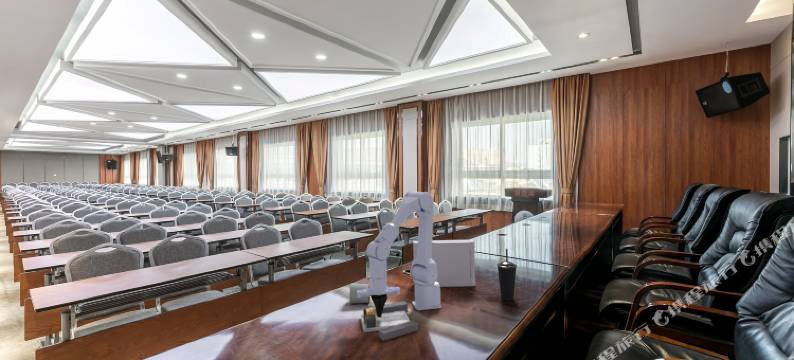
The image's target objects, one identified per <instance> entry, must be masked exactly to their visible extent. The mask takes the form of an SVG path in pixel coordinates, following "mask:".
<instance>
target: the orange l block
mask: <svg viewBox="0 0 794 360" xmlns="http://www.w3.org/2000/svg"><path fill="white" fill-rule="evenodd" d="M366 315H375V318H376V310H375V308H369V309H366Z"/></svg>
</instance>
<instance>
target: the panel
mask: <svg viewBox="0 0 794 360" xmlns="http://www.w3.org/2000/svg"><path fill="white" fill-rule="evenodd" d="M369 308H372V305H365V306H364V305H363V306H362V310H363V311H362V314H361V315H360V322H361V326H362V327H361V328H362V331H363V333H368V332H376V331H377V332H379V330H381V329H385V328H388V327H392V326H395V325H399V324H402V323H406V322H409V321H411V320H410V318H409V316H408V315H407V312H405V311H396V312H386V313H382V317H377V313H376V318H375V315H366V309H369Z"/></svg>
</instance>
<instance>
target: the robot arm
mask: <svg viewBox="0 0 794 360" xmlns="http://www.w3.org/2000/svg"><path fill="white" fill-rule="evenodd" d="M414 212H415V214H417V216H418V231H417V232H418V233H417V234H418V235H417V241H418V249H417V257H416V258H415V259H414V258H413V260H412V263H411V267H410V270H409V275H410V278H411V279H412V282H413V283H414V301H412V305H413V307H414V309H415V310H416V311H424V310H425V311H426V310H433V309H434V310H436V309H441V308H442V306H441V287H440V286H439V283H438V282H436V280H437V277H438V272H437V264H436V263H435V262H434V260H433V259H432V258H431V254H432V240H433V234H434V232H433V231H434V213H435V211H434V197H433V196H432V194H431V193H430V192H427V191H424V192H422V191H410V190H409V191H407V192H406V193H405V194H404V196H403V197H402V198H401V205H400V206H399V207H398V209H397V211H396V213H395V214H394V216H393V218H392V220H391V222H389V223H385V225H383V226H382V227H381V228H382V229H381V230H380V231H379V234H378V235H377V236H376V237H375V238H374V240H372V241H370V242H369V243H368V244H367V247H366V249H365V254H366V256H367V257H368V261H369V262H368V263H369V285H370V288H368V289H364V290H357V297H358V298H361V297H366V296H370V299H371V300H372V303H373V305H374V306H375V307H376V311H377V317H382V311H383V308H384V305H385V304H387V301H388V295H401V288H400V287H399V286H388V281H387V280H388V279H387V278H388V274H387V272H388V271H387V268H388V267H387V258H388V257H389V256H390V253H391V249H392V245H393V243H394V242H395V240H396V239H397V238H398V235H399V234H400V228H401V226H402V225H403V223H404V222H405V221H406V219H407V218H409V216H410V214H411V213H414Z"/></svg>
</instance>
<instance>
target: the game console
mask: <svg viewBox="0 0 794 360" xmlns="http://www.w3.org/2000/svg"><path fill="white" fill-rule="evenodd" d="M412 241H413V242H412V243H413V244H412V245H413V247H412V248H413V250H412V251H413V260H414V259H415V258H416V257H417V249H418V240H412ZM475 247H476V246H475V240H474V239H445V240H444V239H443V240H442V239H441V240H440V239H437V240H436V239H435V240H433V239H432V254H431V258H432V259H433V260H434V262H435V263H436V264H437V272H438V277H437V280H436V282H438V283H439V286H440V288H443V287H444V288H445V287H448V288H449V287H475V286H476V278H475V276H476V275H475V272H476V267H475V266H476V262H475V261H476V260H475V259H476V257H475V254H476V253H475V252H476V251H475Z"/></svg>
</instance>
